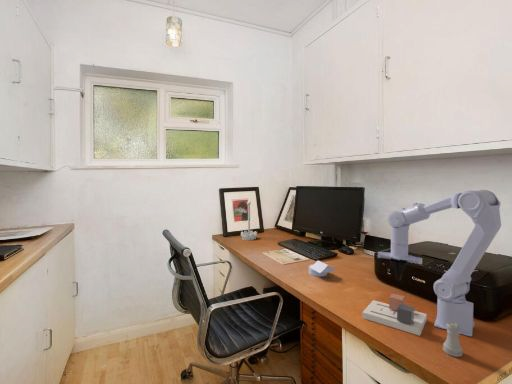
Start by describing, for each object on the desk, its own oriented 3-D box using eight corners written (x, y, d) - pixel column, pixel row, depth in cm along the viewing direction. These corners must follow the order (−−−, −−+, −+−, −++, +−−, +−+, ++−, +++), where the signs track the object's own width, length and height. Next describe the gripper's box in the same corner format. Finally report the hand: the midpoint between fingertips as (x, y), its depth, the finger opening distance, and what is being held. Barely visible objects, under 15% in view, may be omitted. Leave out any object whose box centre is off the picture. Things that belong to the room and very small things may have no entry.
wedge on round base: (336, 277, 131) (320, 269, 143) (336, 264, 131) (320, 257, 143) (320, 280, 128) (305, 271, 140) (320, 266, 128) (305, 258, 140)
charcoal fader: (413, 319, 87) (414, 307, 87) (411, 324, 84) (411, 311, 84) (399, 315, 89) (400, 303, 89) (397, 320, 86) (397, 307, 86)
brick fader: (404, 307, 95) (404, 296, 95) (402, 312, 92) (402, 300, 92) (392, 304, 97) (392, 293, 97) (389, 308, 94) (389, 297, 94)
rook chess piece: (461, 360, 71) (462, 329, 71) (441, 353, 74) (441, 323, 73) (463, 352, 74) (464, 323, 74) (443, 345, 77) (444, 317, 77)
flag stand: (240, 237, 227) (240, 201, 225) (256, 236, 228) (256, 200, 227) (241, 240, 214) (241, 202, 212) (258, 240, 215) (257, 202, 214)
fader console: (426, 319, 91) (426, 313, 91) (420, 335, 82) (420, 329, 82) (373, 305, 102) (373, 300, 102) (362, 318, 93) (362, 312, 93)
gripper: (375, 242, 103) (375, 278, 104) (420, 248, 94) (419, 287, 95) (380, 239, 109) (380, 273, 109) (423, 244, 100) (422, 281, 100)
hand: (398, 279), depth 102 cm, fingers closed
